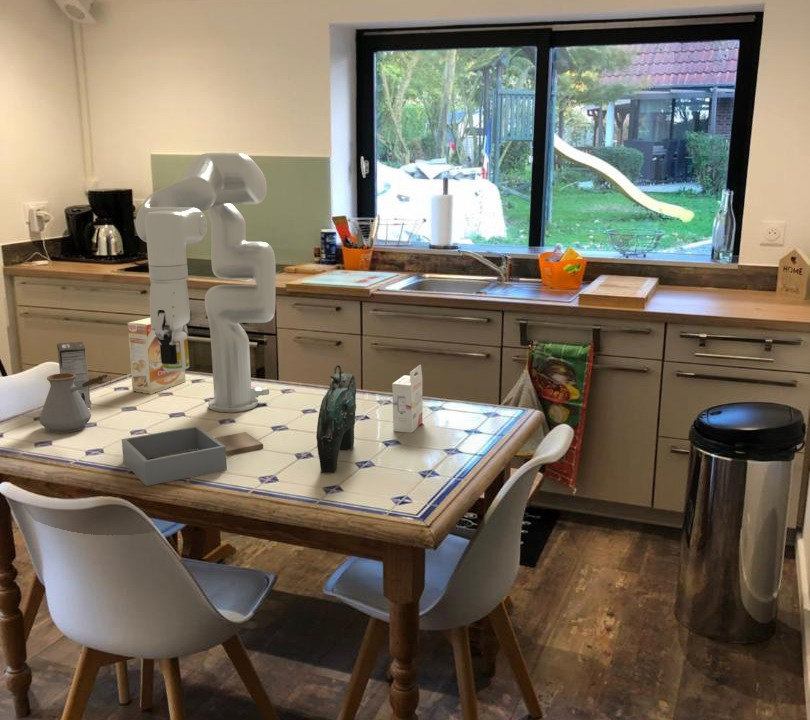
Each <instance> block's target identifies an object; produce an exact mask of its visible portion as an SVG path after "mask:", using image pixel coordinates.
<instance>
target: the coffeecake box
mask: <svg viewBox="0 0 810 720" xmlns="http://www.w3.org/2000/svg"><path fill="white" fill-rule="evenodd" d="M127 333H128V347H129V358H130V362H129V363H130V372H131V373H130V374H131V386H132V387H131V388H132V389H131V390H132V392H133V391H136V392H137V393H141V392H143V393H142V394H146V393H149V394H148V395H153V394H155V392H156V393H158V392H161V391H164V390H167V389H169V387H170V388H172V387H176V386H179V385H181V384H183V382H184V383H186V369H185V370H182V371H166V370H164V369H163V365H162V362H161V351H160V345H159V340H158V338H157V336H156V335H155V331H154V330H152V329H151V321H150V317H148V318H143V319H139V320H134V321H130V322H127ZM180 383H181V384H180Z"/></svg>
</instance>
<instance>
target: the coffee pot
mask: <svg viewBox="0 0 810 720" xmlns="http://www.w3.org/2000/svg"><path fill="white" fill-rule="evenodd" d="M75 377H76V375H75V374H72V373H61V374H60V373H55V374H51V375H48V376H47V377H46V380H47V381H48V383H49V384H50V387H49V390H48V393H47V396H46V399H45V402H44V405H43V408H42V410H41V413H40V416H39V422H40V424H41V426H43V427H44V428H45V429H47V430H48V431H49V432H51V433H53V434H68V433H75V432H78V431H80V430H82V429H83V428H84V427H85V426H86V425H87V424H88V422H90V419H91V417H92V413H91V411H90V409H88V407H87V406H86V404H85V402H84V400H83V399H82V397H81V395H80V394H79V392H78V389H81V388H83V387H86V386H89V387H90V386H92V385H95V384H96V383H98V382H101V381H103V382H104V384H107V382H106V381H105V380H104V379H107V377H108V378H110V379H112V376H110V375H108V374H103V375H98V376H97V377H93V378H92V379H88V381H87V382H85V383H83V384H81V385H79V386H76V387H75V385H74V378H75ZM111 382H112V380H109V382H108V384H109V383H111Z"/></svg>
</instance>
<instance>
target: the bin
mask: <svg viewBox="0 0 810 720" xmlns="http://www.w3.org/2000/svg"><path fill="white" fill-rule="evenodd" d="M215 438H216V437H214V436H212V435H211V434H210V433H208V432H207V431H205V429H203V428H202V427H200V426H199V425H195V426H190V427H184V428H179V429H172V430H166V431H162V432H155V433H148V434H145V435H144V434H143V435H137V436H133V437H127V438H121V448H122V449H121V450H122V460H123V463H124V464H125V465H126V467H128V468H129V469H130V471H132V473H133V474H134V475H135V476H136V477H137V478H138V479H139V480H140V482H142V483H143V485H145V486H146V487H149V486H153V485H159V484H164V483H168V482H174V481H178V480H182V479H183V480H184V479H187V478H192V477H197V476H202V475H207V474H211V473H216V472H222V471H227V469H228V467H227V466H228V465H227V463H228V462H227V455H226V446H224V445H223V444H222V443H220V442H219V441H218V440H216V439H215ZM151 458H152V459H151Z"/></svg>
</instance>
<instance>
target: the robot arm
mask: <svg viewBox="0 0 810 720" xmlns="http://www.w3.org/2000/svg"><path fill="white" fill-rule="evenodd" d="M267 191H268V185H267V179H266V177H265V174H264V173H263V171H262V170H261V168H260V167H259V166H258V165H257V163H256V162H255V161H254V160H253V159H252V158H251V157H250V156H248V155H246V154H244V153H241V152H206V153H202V154H199V155H197V156H196V157H195V158H193V161H192V162H191V163H190V165H189V167H188V168H187V170H186V172H185V173H184V175H183V176H182V178H181V179H180V180H179V181H175V182H173V183H170V184H168V185H167V186H164V187H162V188H160V189H158V190H156V191H154V192H151V193H150V194H149V196H147V197H146V198H145V200H144V201H143V203H142V205H141V206H140V208H139V210H138V211H137V214H136V217H135V232H136V234H137V236H138V238H140V239H141V240H142V241H143V242H145V243H146V249H147V261H148V274H149V282H150V289H149V290H150V292H149V318H150V321H151V329H152V330H154V331H155V335H156V336H157V338H158V340H159V345H160V351H161V362H162V364H176V363H177V351H176V345H174V334H175V330H176V329H178V328H180V327H181V326H183V329H182V331H183V332H185V333H186V334H187V340H188V341H189V332H188V327H189V322H190V320H191V305H190V295H189V290H188V289H189V288H188V283H187V281H188V280H189V269H188V268H189V267H188V257H187V255H188V254H187V245H188V244H190V245H191V244H197V243H199V242H201V241H202V240H203V239H204V238H205V236H206V234H207V232H208V220H207V217H206V215H205V214H204V213H203V212H206V213H207V215H208V218H209V221H210V226H211V229H210V231H211V232H210V233H211V237H210V238H211V244H210V245H211V247H210V248H211V250H210V251H211V253H210V255H211V257H210V258H211V260H210V262H211V270H212V273H213V275H214V276H215V277H217V278H218V279H224V280H254V281H255V284H219V285H215V286H212V287H210V288H209V289H207V291H206V293H205V297H204V306H205V307H204V308H205V312H206V316H207V322H208V326H209V333H210V334H209V335H210V347H211V364H212V379H213V380H212V381H213V382H212V383H213V399H210V401H208V408H209V409H210V410H211V411H215V412H219V413H237V412H244V411H248V410H252V409H254V408H256V407H257V406H258V405H259V400H258V398H259V396H260V397H261V396H269V394H270V389H269V387H262V388H261V387H260V386H258V387H253V386H252V377H251V376H252V375H251V359H250V358H251V355H250V354H251V353H250V340H249V337H248V334H247V332H246V330H245V329H244V328H243V327H242V325H241V324H243V323H245V324H246V323H248V324H249V323H252V324H253V323H257V324H260V323H261V324H262V323H263V324H264V323H269V322H270V321H272V320H273V319H274V317H275V313H276V297H277V296H276V294H277V293H276V291H277V290H276V289H277V288H276V274H277V273H276V269H277V268H276V267H277V266H276V265H277V264H276V256H275V255H276V254H275V251H274V249H273V248H272V245H270V244H269V243H267V242H264V241H247V239H246V236H247V234H246V232H247V231H246V228H247V227H246V225H247V224H246V220H245V218H244V216H243V215H242V213H241V212H240V211H239V210H238V209H237V207H236V206H235V205H258V204H260V203H262V202H263V201H264V199H265V198H266V195H267ZM164 327H170V328H169V329H170V330H169V329H164ZM165 333H170V338H169V336H168V335H167V334H165ZM188 354H189V355H190V352H189V347H188Z"/></svg>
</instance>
